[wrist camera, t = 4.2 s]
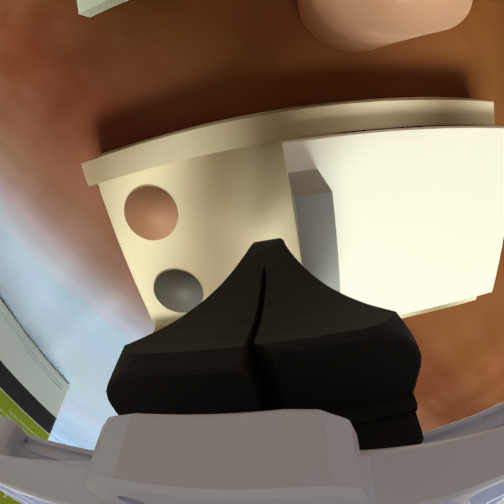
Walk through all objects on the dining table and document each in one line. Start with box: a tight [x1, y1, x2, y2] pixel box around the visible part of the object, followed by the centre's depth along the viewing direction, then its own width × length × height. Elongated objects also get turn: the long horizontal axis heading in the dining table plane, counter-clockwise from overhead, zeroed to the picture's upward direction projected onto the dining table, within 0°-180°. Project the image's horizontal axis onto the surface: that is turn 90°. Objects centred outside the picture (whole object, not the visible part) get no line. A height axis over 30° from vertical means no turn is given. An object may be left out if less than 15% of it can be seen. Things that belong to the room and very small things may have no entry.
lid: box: [282, 126, 504, 315], centre depth 10 cm, size 10×8×3 cm
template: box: [81, 97, 495, 333], centre depth 13 cm, size 17×10×2 cm, turn 101°
